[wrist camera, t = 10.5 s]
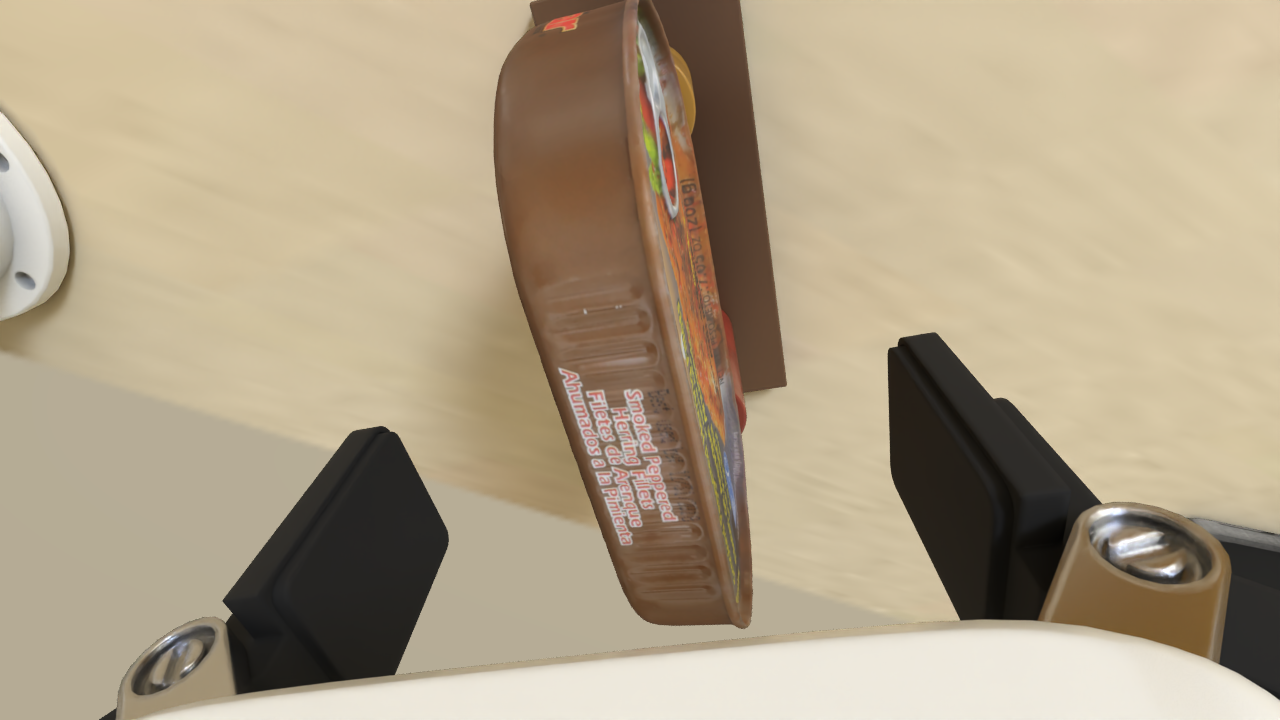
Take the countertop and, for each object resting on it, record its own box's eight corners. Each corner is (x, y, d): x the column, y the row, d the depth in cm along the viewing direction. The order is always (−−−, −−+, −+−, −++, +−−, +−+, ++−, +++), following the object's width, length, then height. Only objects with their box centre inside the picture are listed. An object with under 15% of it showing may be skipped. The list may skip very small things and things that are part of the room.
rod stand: (639, 395, 29) (626, 507, 23) (535, 3, 21) (468, -4, 15) (783, 373, 28) (815, 484, 22) (730, -49, 20) (755, -83, 14)
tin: (748, 472, 22) (783, 705, 14) (662, 483, 22) (653, 714, 15) (667, -8, 14) (652, -33, 7) (543, 25, 15) (409, 31, 8)
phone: (1350, 675, 34) (1106, 627, 34) (1332, 657, 35) (1094, 610, 35) (1472, 585, 31) (1199, 529, 30) (1448, 567, 32) (1183, 512, 31)
